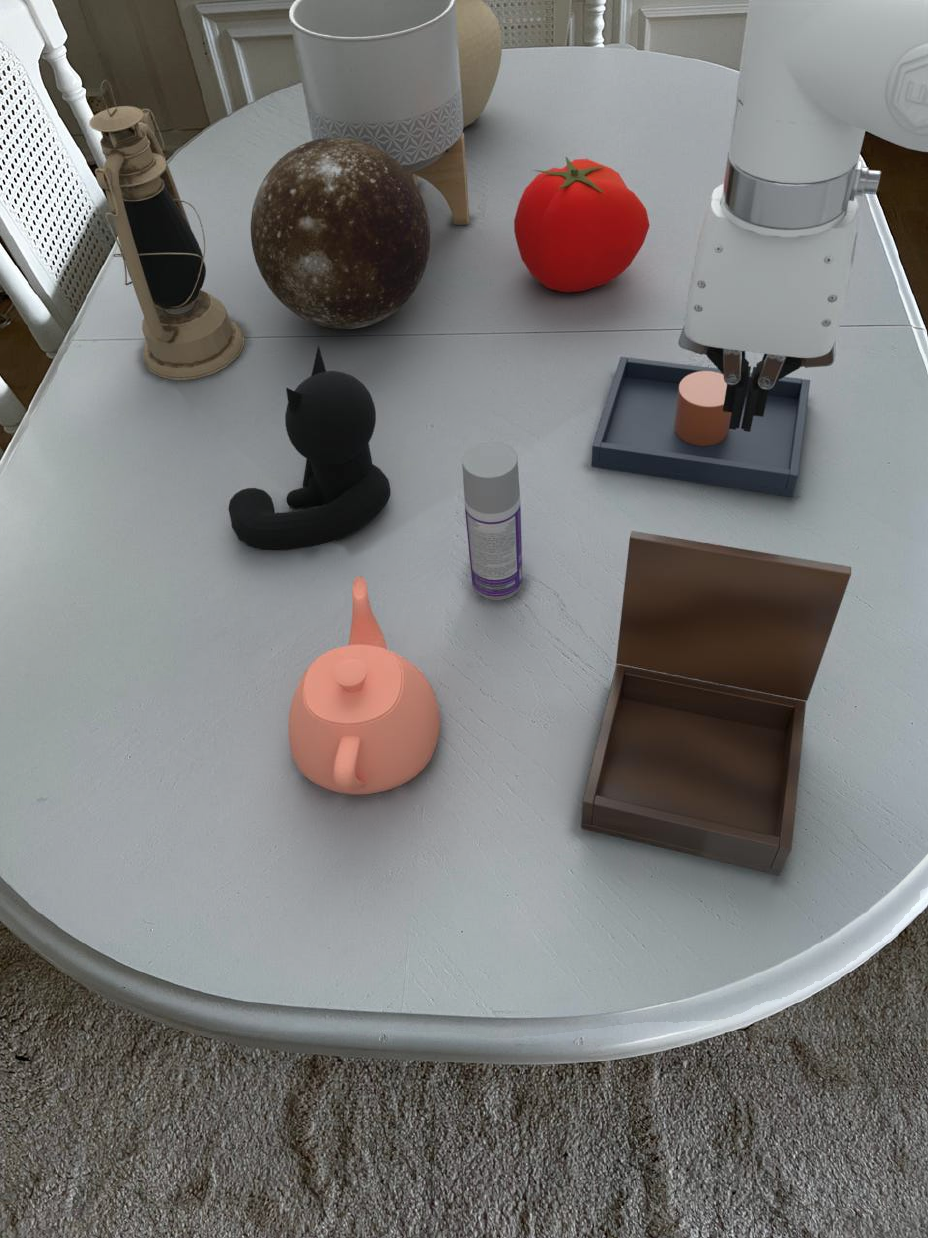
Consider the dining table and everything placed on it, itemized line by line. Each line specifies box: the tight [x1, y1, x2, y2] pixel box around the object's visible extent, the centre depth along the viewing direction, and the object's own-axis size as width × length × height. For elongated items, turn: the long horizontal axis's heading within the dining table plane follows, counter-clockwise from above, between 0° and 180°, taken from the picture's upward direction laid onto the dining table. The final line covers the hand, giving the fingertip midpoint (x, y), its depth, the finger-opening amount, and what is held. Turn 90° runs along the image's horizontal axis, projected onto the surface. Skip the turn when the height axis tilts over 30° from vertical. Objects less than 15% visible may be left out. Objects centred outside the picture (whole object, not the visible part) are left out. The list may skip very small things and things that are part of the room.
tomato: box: [513, 156, 651, 293], centre depth 113 cm, size 16×14×14 cm
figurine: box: [227, 344, 391, 552], centre depth 91 cm, size 16×14×15 cm
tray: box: [590, 356, 811, 498], centre depth 98 cm, size 20×15×3 cm
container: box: [461, 439, 524, 601], centre depth 83 cm, size 5×5×15 cm
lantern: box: [88, 79, 245, 381], centre depth 103 cm, size 14×12×30 cm
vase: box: [455, 0, 503, 129], centre depth 135 cm, size 17×17×30 cm
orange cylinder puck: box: [674, 371, 732, 446], centre depth 97 cm, size 6×6×5 cm
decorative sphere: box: [250, 137, 431, 330], centre depth 109 cm, size 20×20×20 cm
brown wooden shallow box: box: [580, 664, 807, 876], centre depth 74 cm, size 13×15×4 cm
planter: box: [288, 0, 470, 226], centre depth 119 cm, size 19×19×26 cm
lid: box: [615, 530, 852, 702], centre depth 70 cm, size 13×15×1 cm
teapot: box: [288, 576, 441, 795], centre depth 76 cm, size 12×18×10 cm
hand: (742, 418), depth 73 cm, fingers closed
